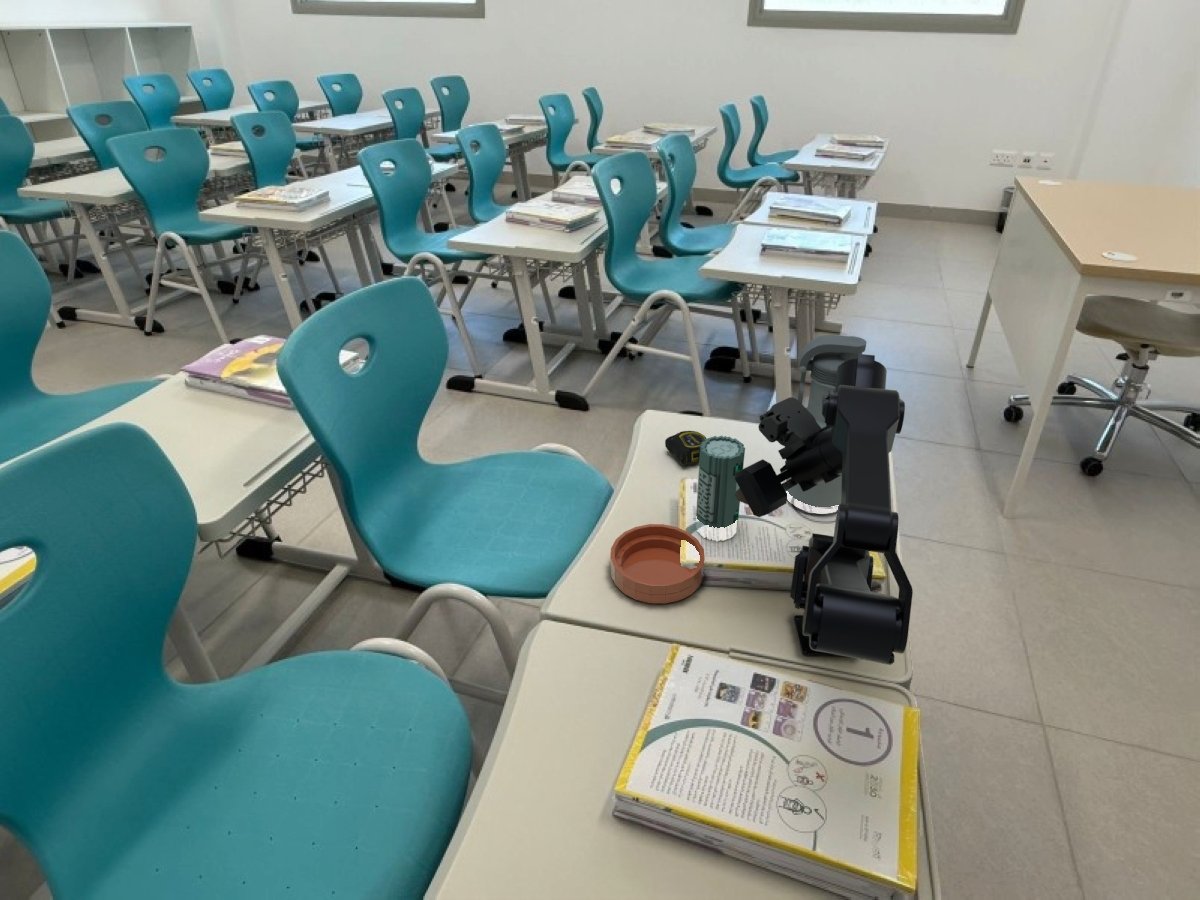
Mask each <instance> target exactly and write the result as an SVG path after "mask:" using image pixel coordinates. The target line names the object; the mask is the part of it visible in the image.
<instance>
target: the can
mask: <svg viewBox="0 0 1200 900" xmlns="http://www.w3.org/2000/svg"><path fill="white" fill-rule="evenodd" d="M706 438H707V437H706ZM745 453H746V447H745V445H744V443H742V442H741V441H740V440H739V439H737V438H732V437H731V436H726V435H725V436H723V435H719V436H717V435H713V436H710V437H708V438H707V439H704V442H701V446H700V457H699V462H698V474H697V475H698V476H697V477H698V478H697V492H696V493H697V495H696V511H695V513H696V514H695V517H696V516H697V519H698V520H699V521H700V522H702V523H703V524H704V525H709V527H712V526H713V527H714V528H715V527H717V528H720V527H724V528H725V527H727V526H729V525H731V524H733V523H735V521H736V520H738V521H739V517H740V516H739V515H740V504H741V502H740V501H738V500H737V499H736V497H735V492H736V491H737V490H738V489H739V486H738V484H737V482H736V480H735V474H736V473H737V472H738V471H740V470H742V469H744V465H745Z"/></svg>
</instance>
